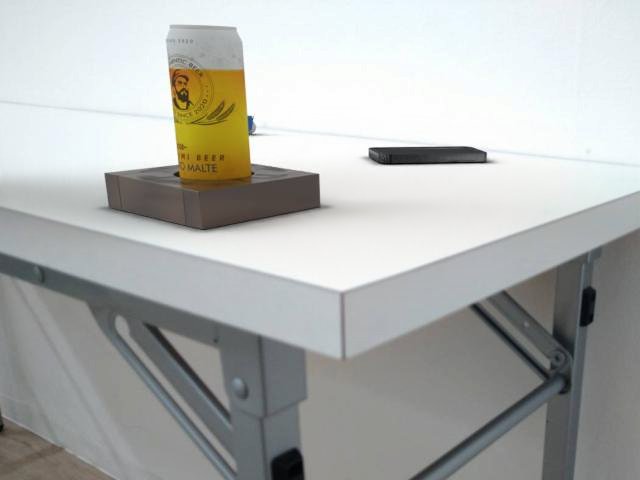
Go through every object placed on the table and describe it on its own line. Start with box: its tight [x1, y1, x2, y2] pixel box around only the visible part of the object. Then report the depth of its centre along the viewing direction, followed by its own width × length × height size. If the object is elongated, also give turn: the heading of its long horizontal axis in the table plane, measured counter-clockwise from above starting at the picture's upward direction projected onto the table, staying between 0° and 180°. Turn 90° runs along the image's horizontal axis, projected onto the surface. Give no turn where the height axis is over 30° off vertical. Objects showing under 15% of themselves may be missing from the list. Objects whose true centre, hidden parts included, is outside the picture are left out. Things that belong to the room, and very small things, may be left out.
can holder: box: [104, 163, 321, 230], centre depth 66 cm, size 13×13×3 cm
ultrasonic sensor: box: [247, 115, 257, 135], centre depth 123 cm, size 6×2×3 cm, turn 83°
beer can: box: [165, 24, 252, 180], centre depth 64 cm, size 6×6×15 cm
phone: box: [368, 145, 488, 164], centre depth 100 cm, size 8×1×15 cm
